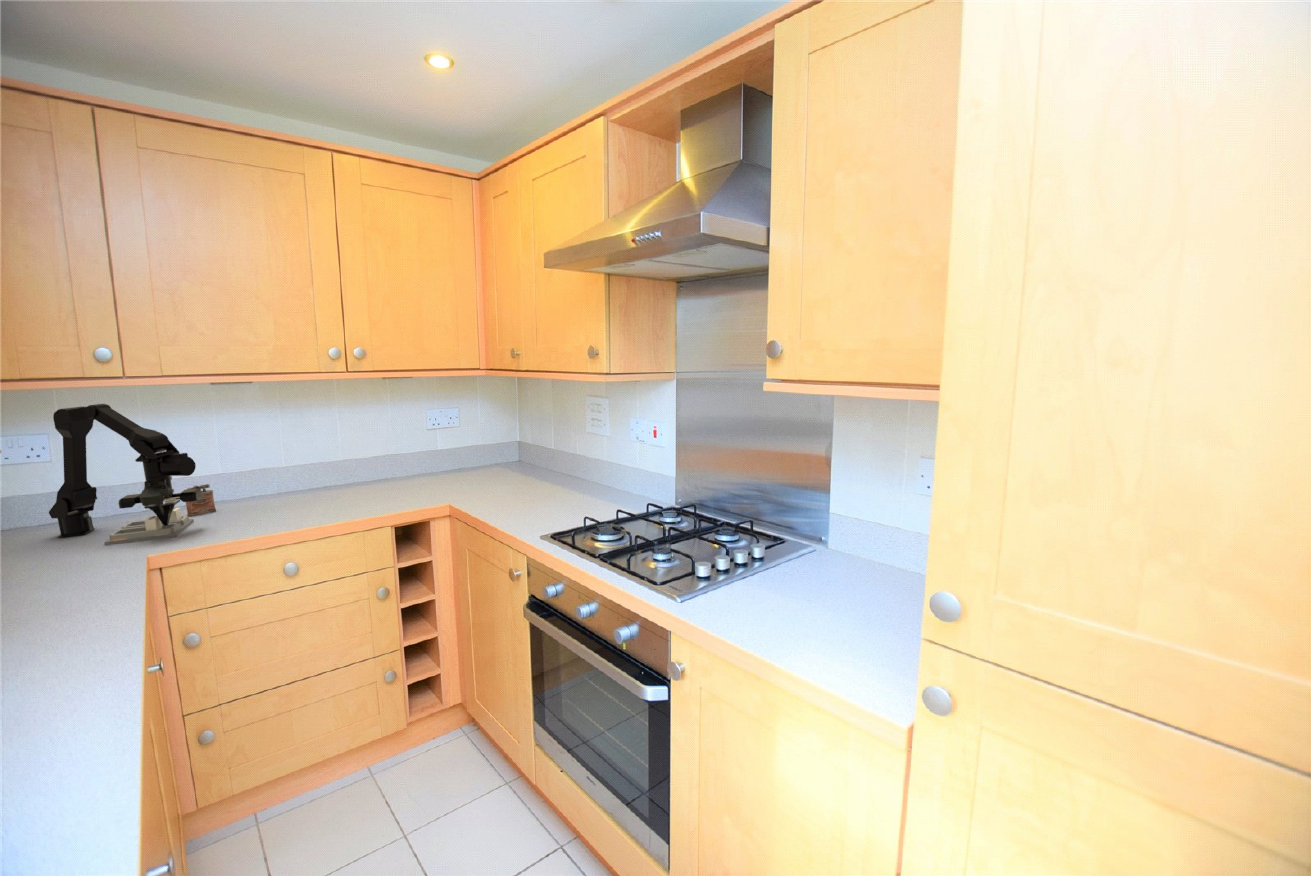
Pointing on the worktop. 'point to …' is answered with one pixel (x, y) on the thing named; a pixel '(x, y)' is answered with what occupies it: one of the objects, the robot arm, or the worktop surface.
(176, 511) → the tab
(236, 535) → the worktop surface
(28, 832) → the worktop surface
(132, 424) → the robot arm
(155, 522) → the tab
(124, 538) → the switch bank
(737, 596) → the worktop surface
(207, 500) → the lighter
